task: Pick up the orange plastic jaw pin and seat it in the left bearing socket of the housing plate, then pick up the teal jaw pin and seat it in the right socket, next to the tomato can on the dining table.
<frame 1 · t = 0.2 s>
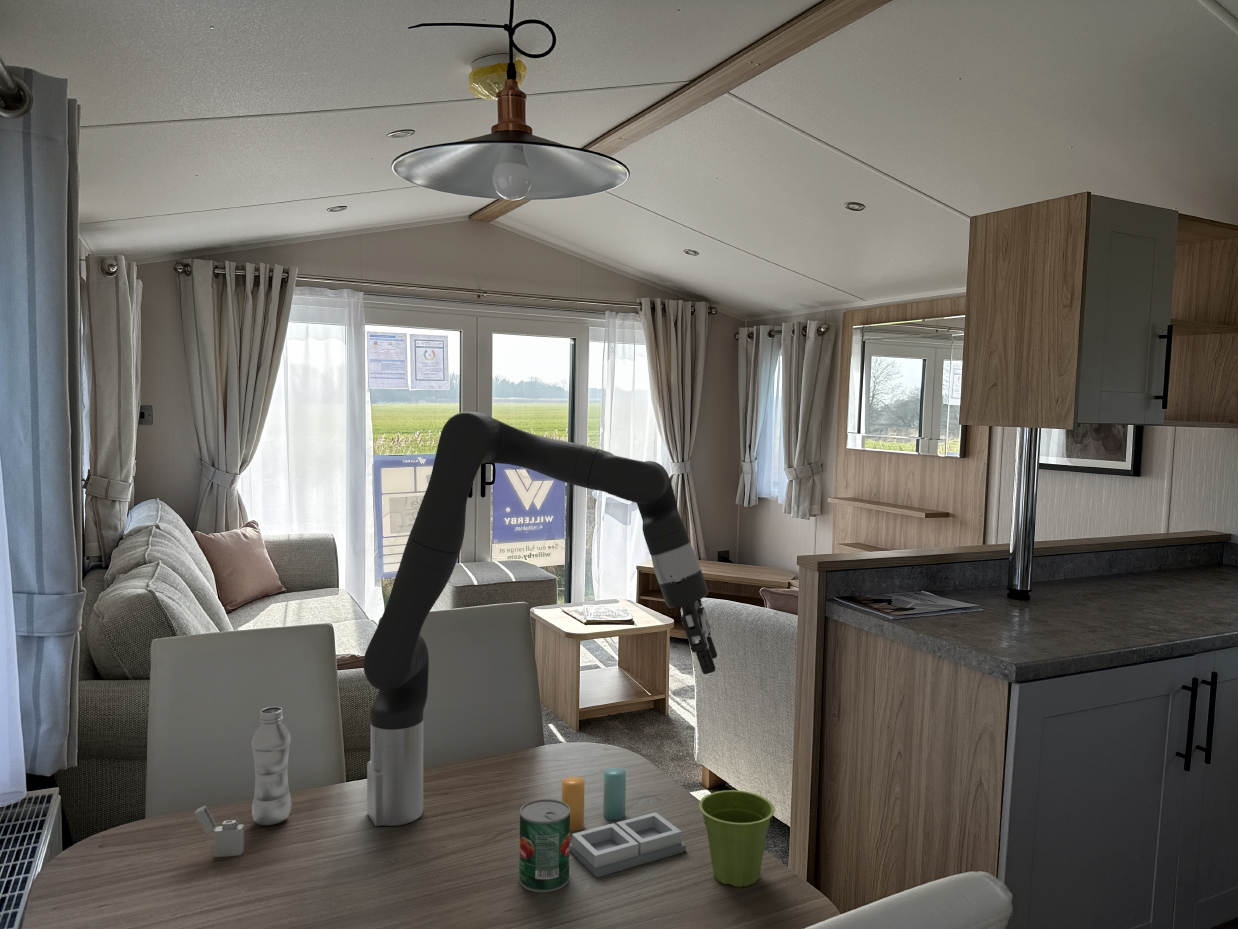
hand: (710, 665, 140), 31 cm above the table, tool tilted 20°, fingers open, 8 cm apart
canned tomato: (544, 880, 129), on the table
teal jaw pin: (614, 815, 151), on the table
plant pot: (735, 877, 131), on the table
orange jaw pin: (572, 826, 147), on the table
housing: (626, 850, 138), on the table
lighter: (219, 855, 136), on the table
plastic bottle: (271, 822, 147), on the table
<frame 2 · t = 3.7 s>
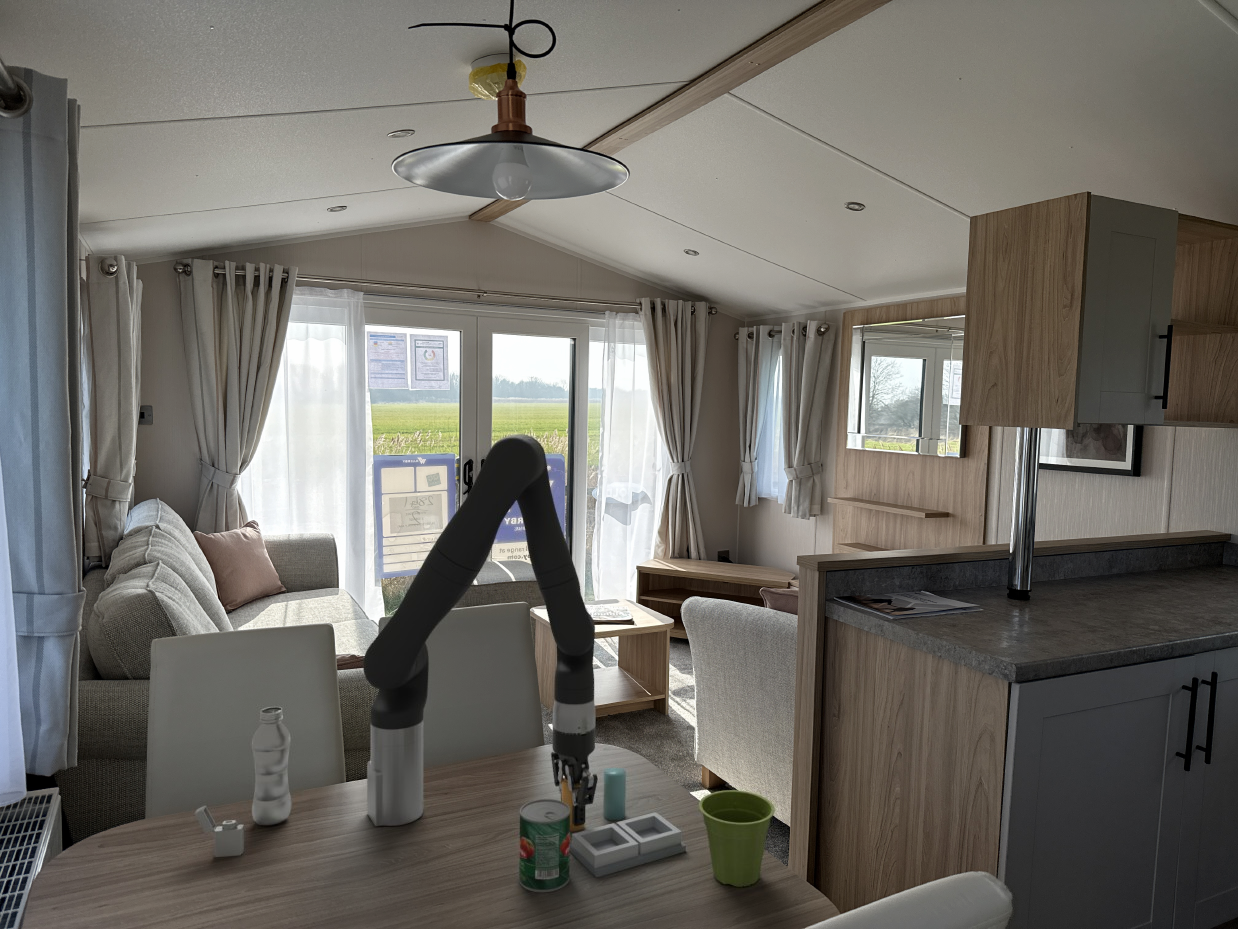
hand: (572, 818, 147), 1 cm above the table, tool pointing down, fingers closed on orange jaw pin, 4 cm apart
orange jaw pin: (572, 826, 147), on the table, touching gripper
everything else where it was.
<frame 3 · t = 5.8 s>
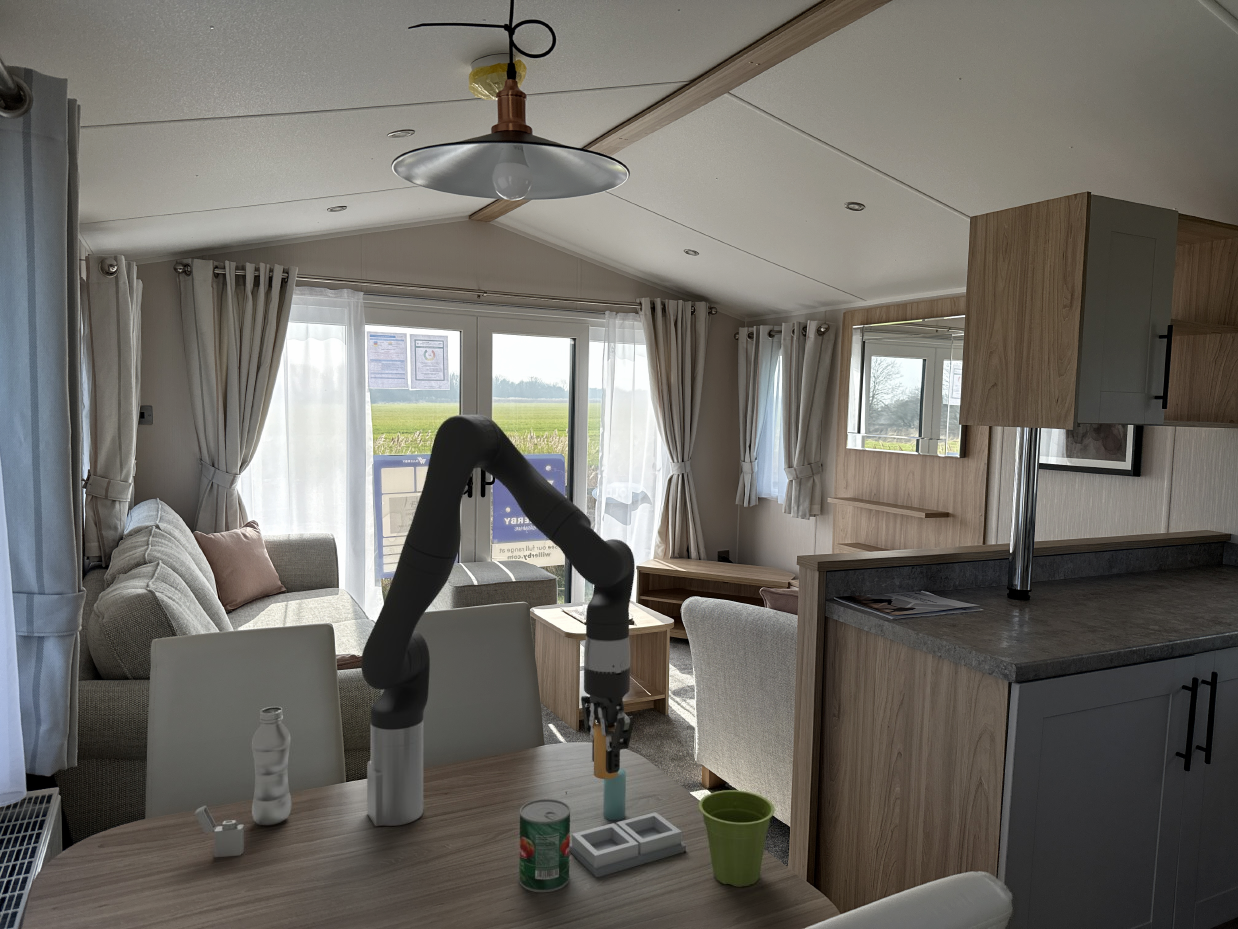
hand: (605, 766, 136), 15 cm above the table, tool pointing down, fingers closed on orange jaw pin, 4 cm apart
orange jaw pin: (605, 774, 136), point 14 cm above the table, touching gripper
everything else where it was.
when the fingers open (4 cm above the table, at t = 8.2 s): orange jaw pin drops 1 cm, resting on housing.
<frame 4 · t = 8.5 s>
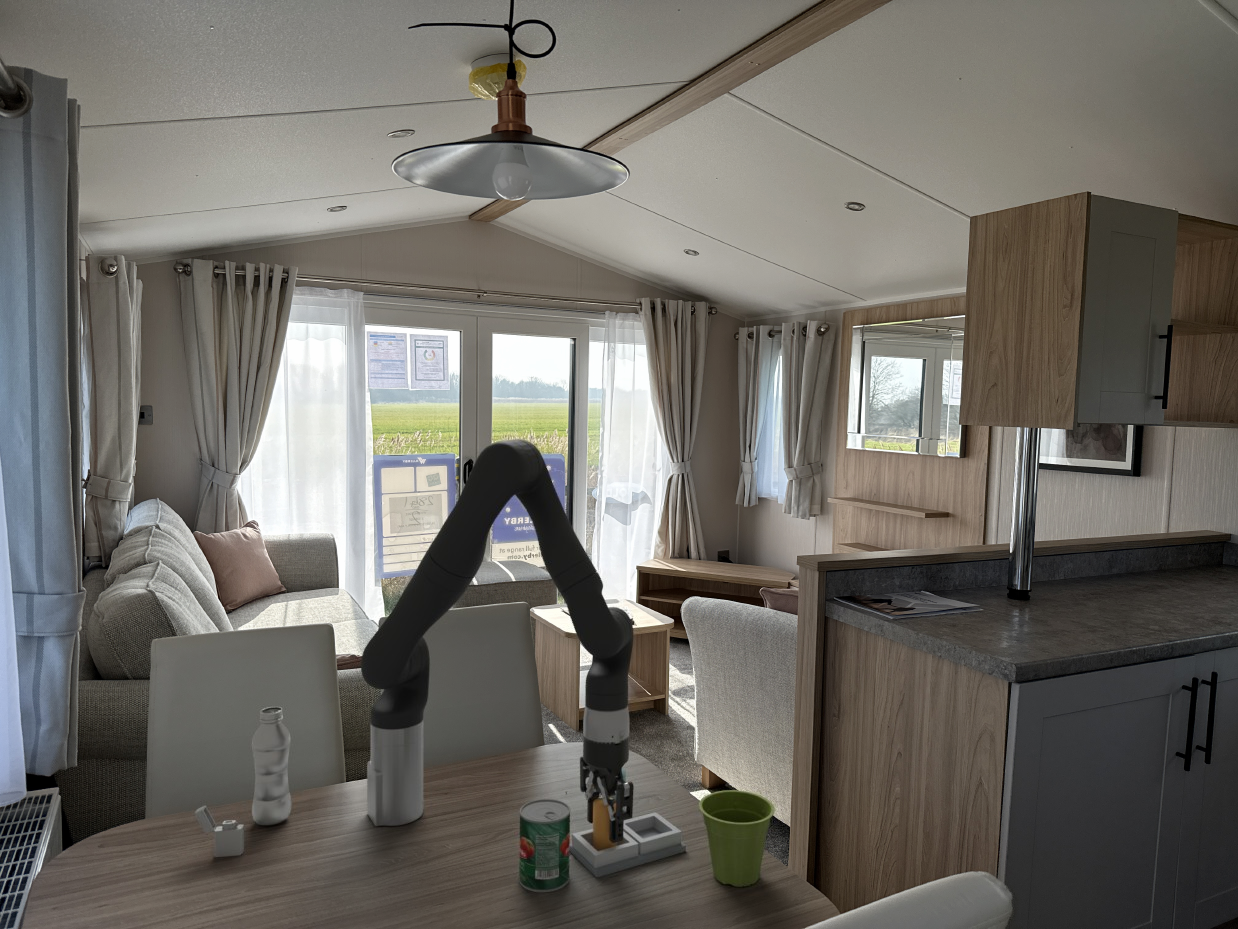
hand: (604, 831, 136), 4 cm above the table, tool pointing down, fingers open, 7 cm apart
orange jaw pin: (604, 850, 136), point 1 cm above the table, touching housing
everything else where it was.
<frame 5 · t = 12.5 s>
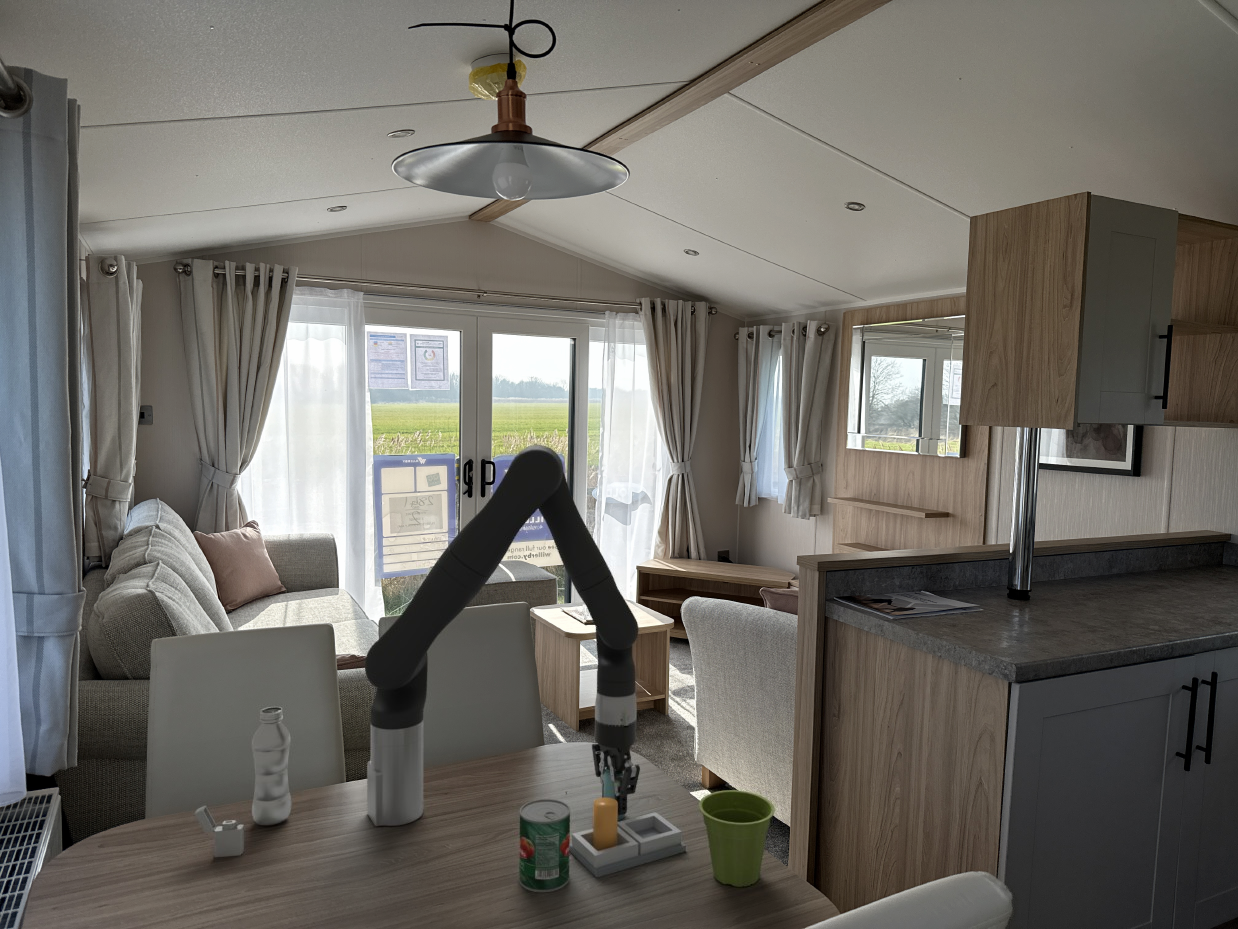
hand: (614, 808, 151), 1 cm above the table, tool pointing down, fingers closed on teal jaw pin, 4 cm apart
teal jaw pin: (614, 815, 151), on the table, touching gripper
everything else where it was.
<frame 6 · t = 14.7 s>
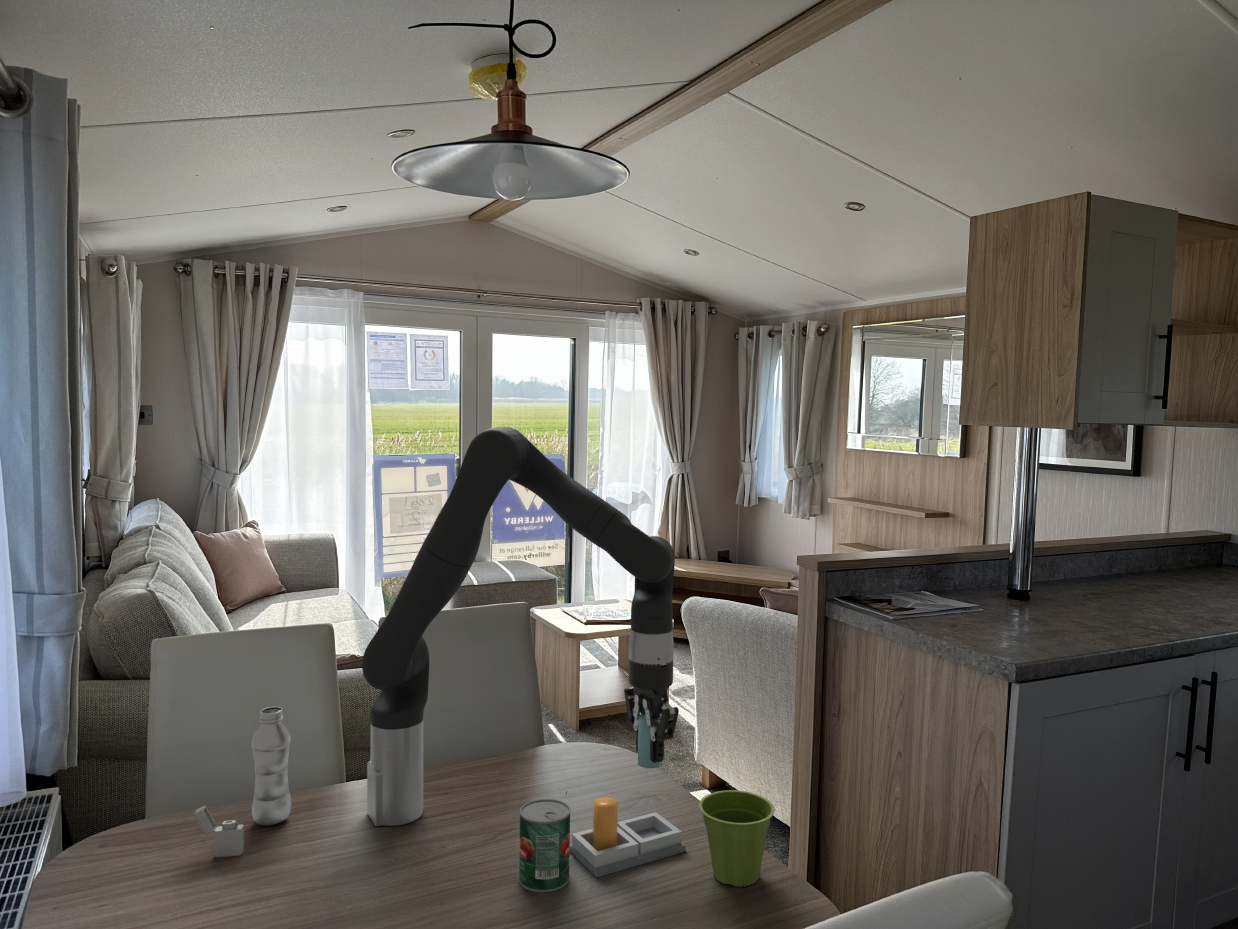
hand: (649, 756, 140), 15 cm above the table, tool pointing down, fingers closed on teal jaw pin, 4 cm apart
teal jaw pin: (649, 763, 140), point 14 cm above the table, touching gripper
everything else where it was.
when the fingers open (4 cm above the table, at t = 17.1 s): teal jaw pin drops 1 cm, resting on housing.
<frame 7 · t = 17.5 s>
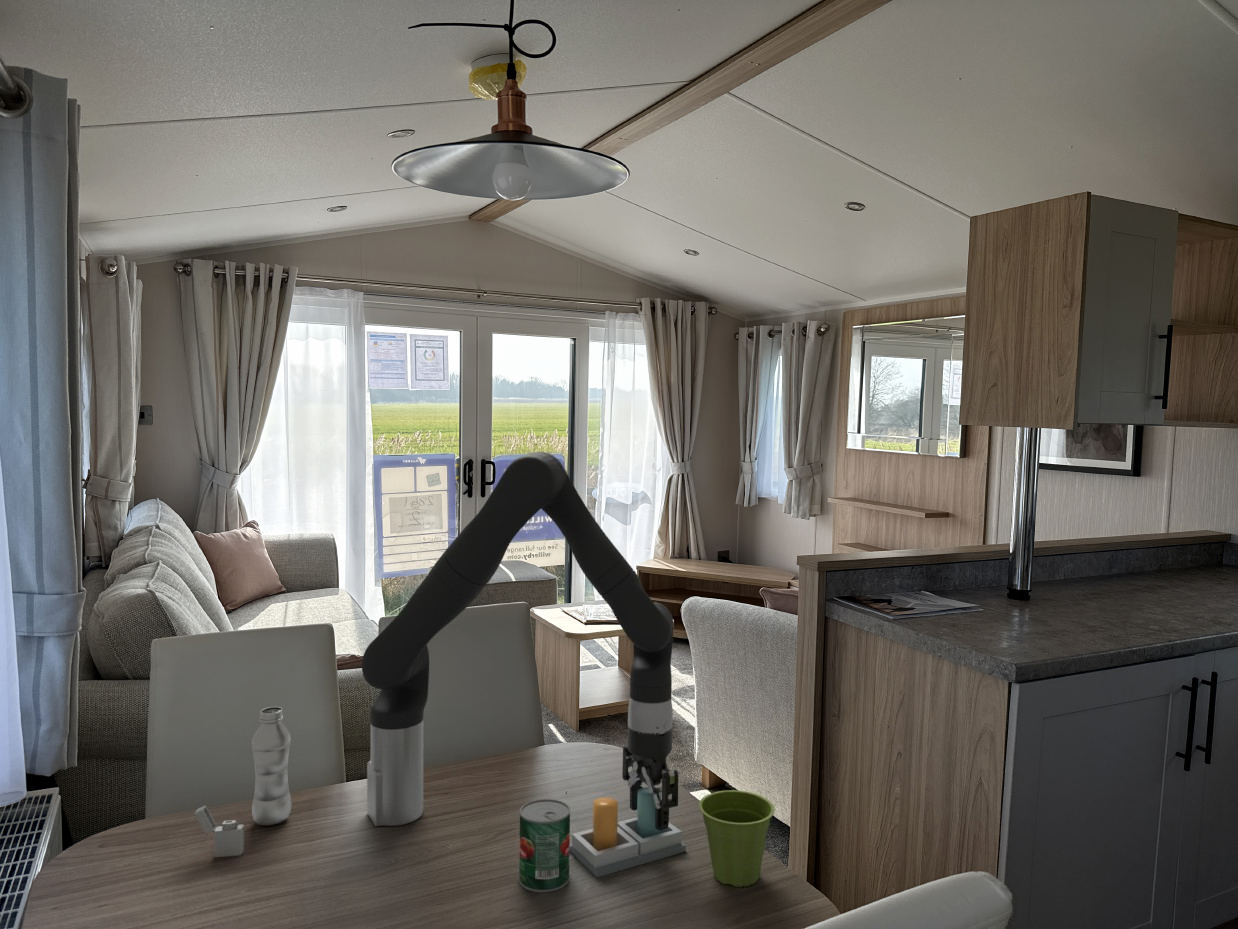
hand: (648, 818, 140), 4 cm above the table, tool pointing down, fingers open, 7 cm apart
teal jaw pin: (648, 838, 141), point 1 cm above the table, touching housing
everything else where it was.
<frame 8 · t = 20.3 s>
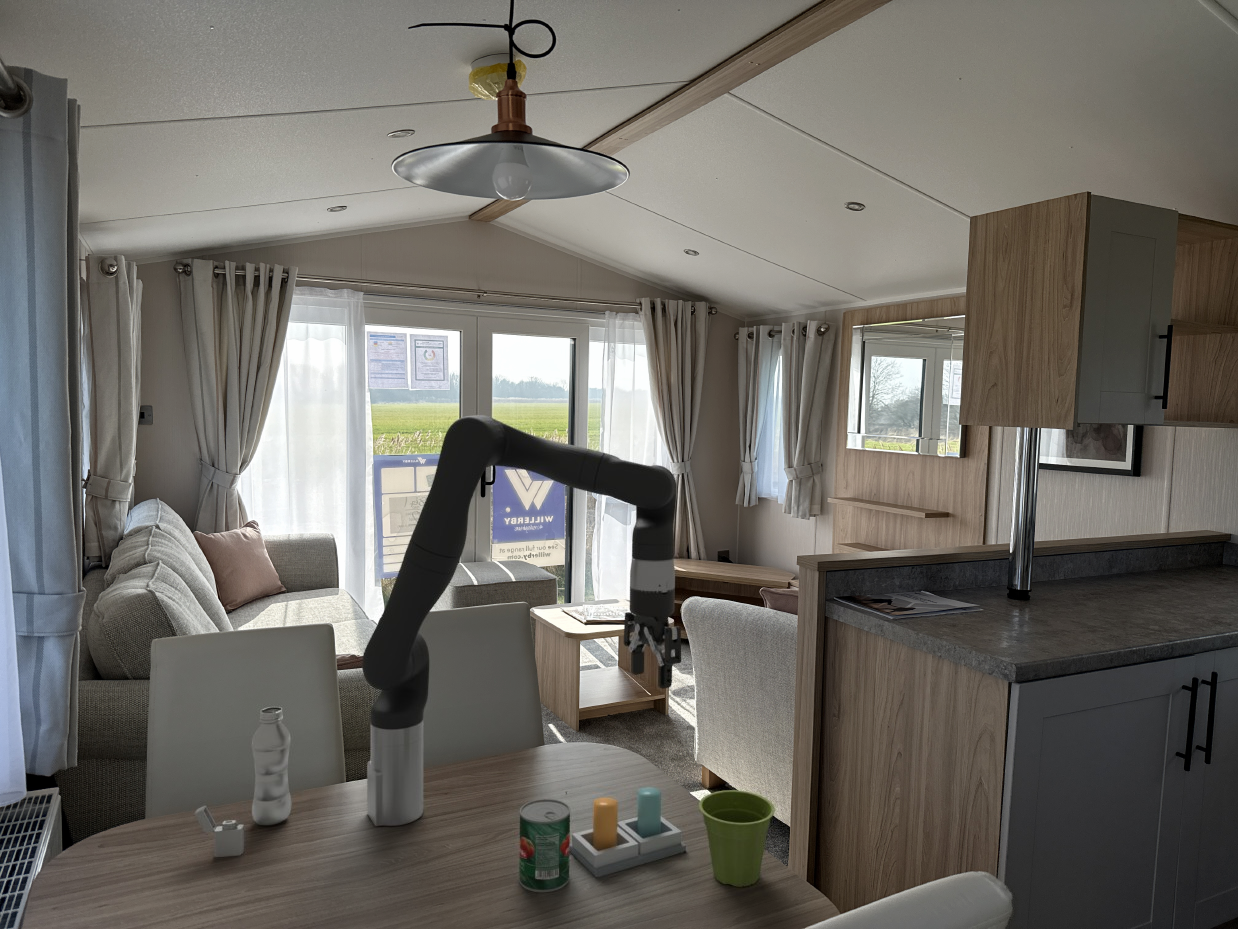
hand: (650, 680, 139), 28 cm above the table, tool pointing down, fingers open, 8 cm apart
nothing on the table moved.
at the end: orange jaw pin 0.0 cm from the target spot on the housing, point 1.0 cm above the housing's base; teal jaw pin 0.1 cm from the target spot on the housing, point 1.0 cm above the housing's base; teal jaw pin tilted 1° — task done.
